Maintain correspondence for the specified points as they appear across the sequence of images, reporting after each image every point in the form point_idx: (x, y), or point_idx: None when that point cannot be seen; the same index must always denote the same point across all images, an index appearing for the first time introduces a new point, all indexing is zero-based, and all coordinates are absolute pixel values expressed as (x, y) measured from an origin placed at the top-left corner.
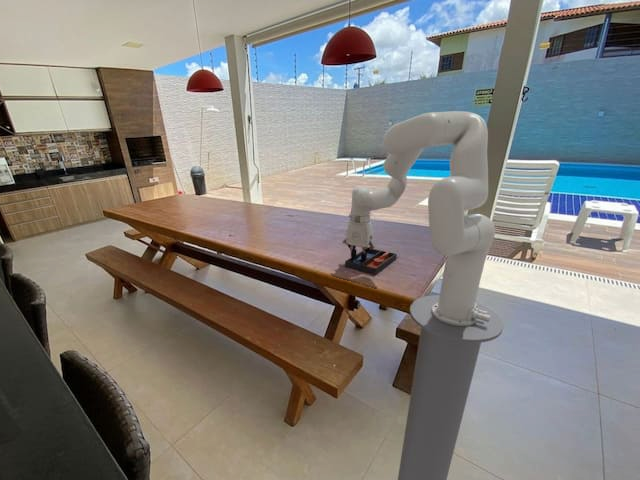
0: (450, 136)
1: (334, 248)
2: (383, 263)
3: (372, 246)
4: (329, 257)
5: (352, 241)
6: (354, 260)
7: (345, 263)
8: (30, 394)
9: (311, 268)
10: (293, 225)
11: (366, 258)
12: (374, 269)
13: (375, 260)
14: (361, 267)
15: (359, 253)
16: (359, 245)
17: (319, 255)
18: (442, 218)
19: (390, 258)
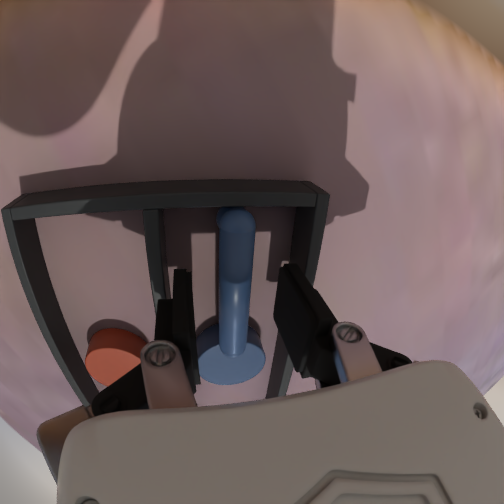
0: None
1: (420, 349)
2: (42, 332)
3: (50, 447)
4: (435, 247)
5: (402, 431)
6: (248, 242)
7: (316, 186)
8: None
9: (458, 39)
10: (498, 364)
11: (201, 353)
12: (15, 204)
13: (123, 355)
14: (135, 187)
15: (282, 377)
16: (220, 426)
17: (472, 239)
18: None
19: (82, 403)
